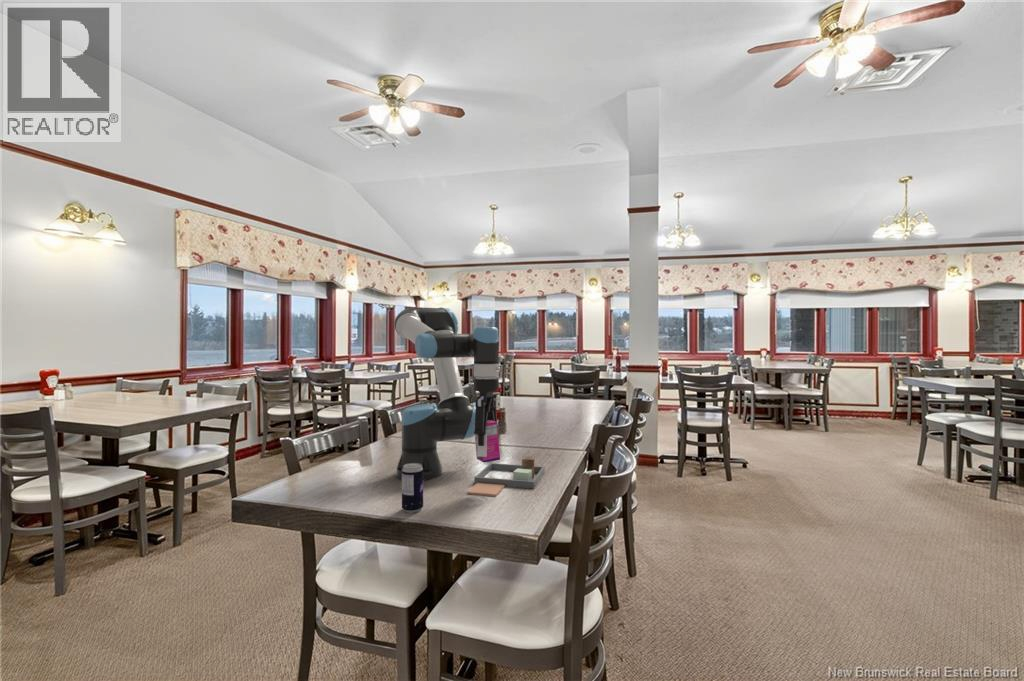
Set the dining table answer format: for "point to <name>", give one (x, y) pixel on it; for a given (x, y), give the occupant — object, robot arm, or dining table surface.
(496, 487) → the pad
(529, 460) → the walnut block
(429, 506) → the dining table surface
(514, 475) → the pale green box
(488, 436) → the supplement box
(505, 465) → the bin
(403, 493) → the beverage can
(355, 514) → the dining table surface
